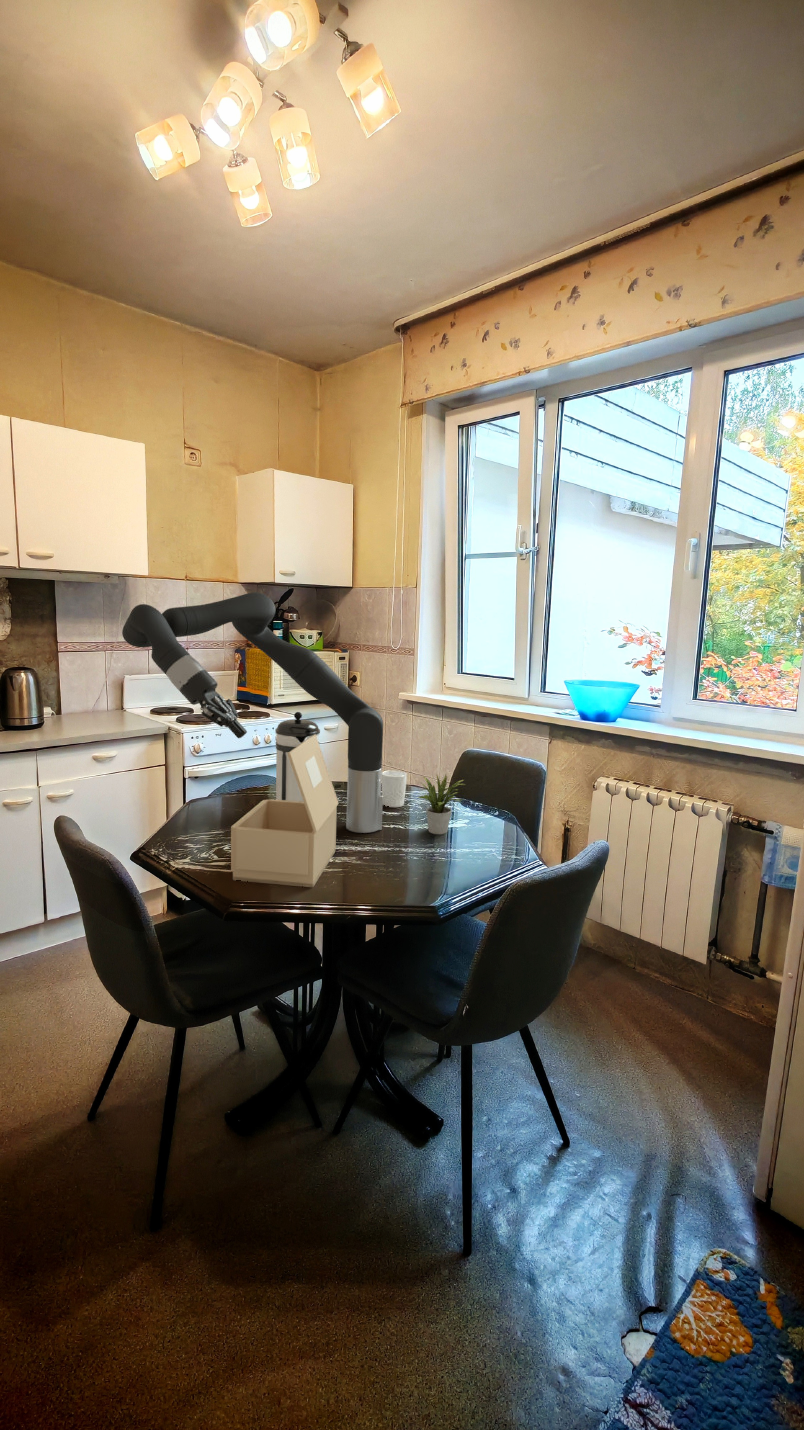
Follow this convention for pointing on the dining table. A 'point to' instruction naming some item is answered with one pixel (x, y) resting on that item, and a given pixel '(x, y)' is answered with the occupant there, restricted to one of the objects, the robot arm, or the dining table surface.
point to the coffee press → (287, 740)
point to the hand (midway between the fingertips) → (243, 735)
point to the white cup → (393, 788)
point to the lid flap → (313, 781)
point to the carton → (281, 844)
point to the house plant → (439, 805)
